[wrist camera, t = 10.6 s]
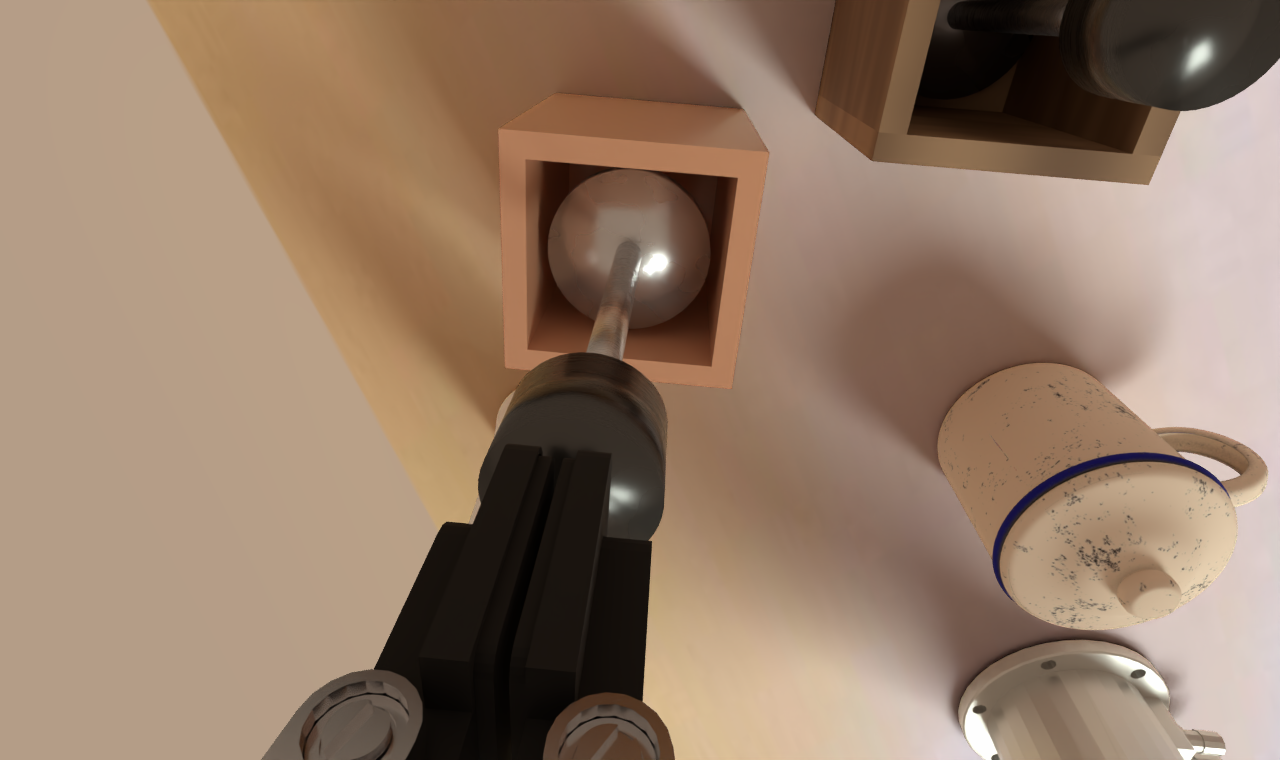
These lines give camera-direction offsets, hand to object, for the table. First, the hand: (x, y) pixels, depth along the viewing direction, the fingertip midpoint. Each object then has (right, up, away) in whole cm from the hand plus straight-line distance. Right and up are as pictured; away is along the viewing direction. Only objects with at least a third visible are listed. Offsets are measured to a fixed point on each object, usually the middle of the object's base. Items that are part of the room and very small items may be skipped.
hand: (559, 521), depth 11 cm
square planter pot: (+1, +11, +20) cm, 22 cm away
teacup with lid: (+23, 0, +24) cm, 33 cm away
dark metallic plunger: (+13, +16, +14) cm, 25 cm away
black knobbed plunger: (+1, +7, +13) cm, 15 cm away
